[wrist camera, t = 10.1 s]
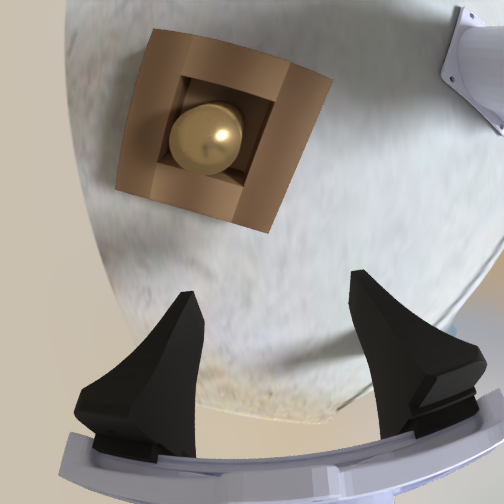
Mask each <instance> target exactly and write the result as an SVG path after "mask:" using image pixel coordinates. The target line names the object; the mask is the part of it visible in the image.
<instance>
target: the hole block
mask: <svg viewBox="0 0 504 504" xmlns="http://www.w3.org/2000/svg"><path fill="white" fill-rule="evenodd" d="M332 81H333V80H332V79H330V78H328V77H326V76H323V75H321V74H319V73H316V72H314V71H312V70H309V69H307V68H304V67H302V66H299V65H297V64H294V63H291V62H289V61H286V60H283V59H280V58H277V57H274V56H272V55H269V54H265V53H262V52H259V51H256V50H253V49H249V48H246V47H242V46H239V45H235V44H231V43H228V42H224V41H220V40H215V39H211V38H206V37H202V36H197V35H192V34H186V33H181V32H175V31H168V30H161V29H153V31H152V34H151V36H150V39H149V42H148V45H147V48H146V51H145V54H144V57H143V61H142V64H141V67H140V70H139V74H138V77H137V81H136V85H135V88H134V92H133V96H132V100H131V104H130V108H129V113H128V117H127V122H126V126H125V131H124V136H123V141H122V147H121V152H120V158H119V165H118V171H117V178H116V185H115V190H118V191H122V192H126V193H129V194H133V195H136V196H140V197H144V198H147V199H151V200H154V201H158V202H162V203H165V204H169V205H172V206H176V207H179V208H183V209H186V210H190V211H193V212H197V213H200V214H203V215H207V216H210V217H214V218H217V219H221V220H224V221H227V222H231V223H234V224H237V225H241V226H244V227H247V228H251V229H254V230H257V231H261V232H264V233H267V234H268V233H269V231H270V229H271V226H272V224H273V222H274V219H275V217H276V214H277V212H278V210H279V207H280V205H281V203H282V200H283V198H284V196H285V193H286V191H287V189H288V186H289V184H290V182H291V179H292V177H293V174H294V172H295V170H296V167H297V165H298V163H299V160H300V158H301V156H302V153H303V151H304V148H305V146H306V144H307V141H308V139H309V137H310V134H311V132H312V129H313V127H314V125H315V122H316V120H317V117H318V115H319V113H320V110H321V108H322V105H323V103H324V101H325V98H326V96H327V93H328V91H329V89H330V86H331V84H332ZM213 100H226V101H229V102H231V103H233V104H234V105H236V106H237V107H238V108H239V109H240V111H241V113H242V115H243V118H244V129H243V135H242V140H241V145H240V150H239V153H238V155H237V157H236V159H235V160H234V162H233V163H232V164H231V165H230V166H229V167H228V168H226V169H225V170H223V171H221V172H219V173H217V174H213V175H197V174H193V173H191V172H188V171H187V170H185V169H183V168H182V167H181V166H180V165H179V164H178V163H177V162H176V160H175V159H174V157H173V156H172V153H171V150H170V145H169V137H170V132H171V129H172V127H173V125H174V123H175V122H176V120H177V119H178V118H179V117H180V116H181V115H182V114H184V113H185V112H187V111H189V110H190V109H193V108H195V107H198V106H200V105H202V104H205V103H207V102H210V101H213Z"/></svg>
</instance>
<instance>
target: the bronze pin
mask: <svg viewBox="0 0 504 504" xmlns="http://www.w3.org/2000/svg"><path fill="white" fill-rule="evenodd" d="M243 129H244V118H243V115H242V113H241V111H240V109H239V108H238V107H237V106H236V105H234V104H233V103H231V102H229V101H226V100H213V101H210V102H207V103H205V104H202V105H200V106H198V107H195V108H193V109H190V110H189V111H187V112H185V113H184V114H182V115H181V116H180V117H179V118H178V119H177V120H176V122H175V123H174V125H173V127H172V129H171V132H170V137H169V145H170V150H171V153H172V156H173V157H174V159H175V160H176V162H177V163H178V164H179V165H180V166H181V167H182V168H183V169H185V170H187V171H188V172H191V173H193V174H197V175H213V174H217V173H219V172H221V171H223V170H225V169H226V168H228V167H229V166H230V165H231V164H232V163H233V162H234V160H235V159H236V157H237V155H238V153H239V150H240V145H241V140H242V135H243Z"/></svg>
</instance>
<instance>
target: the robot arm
mask: <svg viewBox="0 0 504 504" xmlns="http://www.w3.org/2000/svg"><path fill="white" fill-rule="evenodd" d="M470 15H471V17H470ZM450 77H451V78H452V82H451V81H450ZM441 78H442V79H443V81H445V82H446V83H447V84H448V85H450V86H451V87H452V88H453V89H454V90H456V91H457V92H458V93H459V94H460V95H461V96H463V97H464V98H465V99H466V100H467V101H468V102H469V103H470V104H471V105H472V106H474V107H475V108H476V109H477V110H478V111H479V112H480V113H481V114H482V115H483V116H484V117H485V118H486V119H487V120H488V121H489V122H490V123H491V124H492V125H493V126H494V127H495V128H496V129H497V130H498V132H499V133H500V134H501V135H502V136H503V137H504V26H490V27H487V26H486V25H485V24H484V23H483V22H482V21H481V20H480V19H479V18H478V17H477V16H476V15H475V14H474V13H473V12H472V11H471V10H470V9H469V8H467V7H461V10H460V13H459V17H458V21H457V24H456V27H455V31H454V34H453V37H452V41H451V44H450V47H449V50H448V53H447V56H446V59H445V62H444V64H443V67H442V70H441ZM348 304H349V309H350V313H351V317H352V321H353V324H354V327H355V330H356V332H357V335H358V338H359V340H360V343H361V346H362V348H363V351H364V354H365V356H366V359H367V362H368V365H369V369H370V373H371V378H372V382H373V387H374V392H375V398H376V403H377V411H378V418H379V426H380V436H381V440H379V441H375V442H371V443H366V444H362V445H358V446H353V447H349V448H344V449H338V450H332V451H326V452H320V453H313V454H306V455H297V456H287V457H275V458H259V459H202V458H196V448H195V393H196V382H197V375H198V370H199V364H200V359H201V353H202V348H203V342H204V325H205V321H204V318H203V316H202V313H201V310H200V308H199V305H198V302H197V300H196V297H195V294H194V291H186V292H181V293H180V294H179V295H178V297H177V298H176V299H175V301H174V302H173V304H172V305H171V306H170V308H169V309H168V310H167V312H166V313H165V315H164V316H163V317H162V319H161V320H160V321H159V323H158V324H157V325H156V326H155V328H154V329H153V330H152V331H151V332H150V334H149V335H148V336H147V337H146V338H145V340H144V341H143V342H142V343H141V344H140V345H139V346H138V347H137V348H136V349H135V350H134V351H133V352H132V353H131V354H130V355H129V356H128V357H127V358H125V359H124V360H123V361H122V362H121V363H120V364H119V365H117V366H116V367H115V368H114V369H113V370H111V371H110V372H108V373H107V374H105V375H104V376H103V377H101V378H100V379H98V380H97V381H95V382H93V383H92V384H90V385H88V386H87V387H85V388H83V389H82V390H81V393H80V395H79V398H78V401H77V404H76V407H75V410H74V415H75V417H76V418H77V419H78V420H79V421H80V422H81V423H82V424H84V425H85V426H86V427H87V428H89V429H90V430H91V431H93V432H94V433H95V438H94V439H93V438H91V437H88V436H84V435H81V434H77V433H74V432H70V434H69V437H68V441H67V444H66V447H65V451H64V455H63V459H62V462H61V466H60V470H59V476H60V477H62V478H65V479H66V480H68V481H71V482H73V483H75V484H77V485H79V486H82V487H84V488H86V489H88V490H91V491H94V492H97V493H100V494H103V495H106V496H110V497H112V498H116V499H119V500H123V501H127V502H130V503H135V504H395V502H394V496H396V495H399V494H401V493H404V492H407V491H410V490H413V489H415V488H418V487H420V486H423V485H426V484H428V483H430V482H433V481H435V480H437V479H439V478H442V477H444V476H446V475H448V474H450V473H453V472H455V471H456V470H459V469H460V468H463V467H464V466H467V465H469V464H470V463H472V462H474V461H476V460H478V459H480V458H481V457H483V456H485V455H487V454H488V453H490V452H491V451H493V450H494V449H496V448H497V447H499V446H500V445H501V444H503V443H504V396H503V394H502V392H501V389H500V388H498V389H496V390H494V391H492V392H490V393H488V394H486V395H484V396H483V397H481V398H479V399H478V400H477V401H476V399H475V397H474V395H475V394H476V389H475V387H474V385H475V384H476V383H477V381H478V380H479V379H480V378H481V376H482V375H483V373H484V372H485V370H486V367H487V362H486V360H485V358H484V356H483V354H482V353H481V351H480V349H479V348H478V346H476V345H473V344H470V343H467V342H465V341H462V340H460V339H457V338H455V337H453V336H451V335H449V334H447V333H445V332H443V331H441V330H439V329H437V328H436V327H434V326H432V325H430V324H429V323H427V322H425V321H424V320H422V319H421V318H419V317H418V316H417V315H415V314H414V313H412V312H411V311H410V310H408V309H407V308H406V307H404V306H403V305H402V304H401V303H399V302H398V301H397V300H396V299H395V298H394V297H393V296H391V295H390V294H389V293H388V292H387V291H386V290H385V289H384V288H383V287H382V286H381V285H380V284H378V283H377V282H376V281H375V280H374V279H373V278H372V277H371V276H370V275H369V274H368V273H367V272H366V271H365V270H364V269H363V270H356V271H351V279H350V292H349V303H348ZM351 465H354V466H351Z"/></svg>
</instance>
